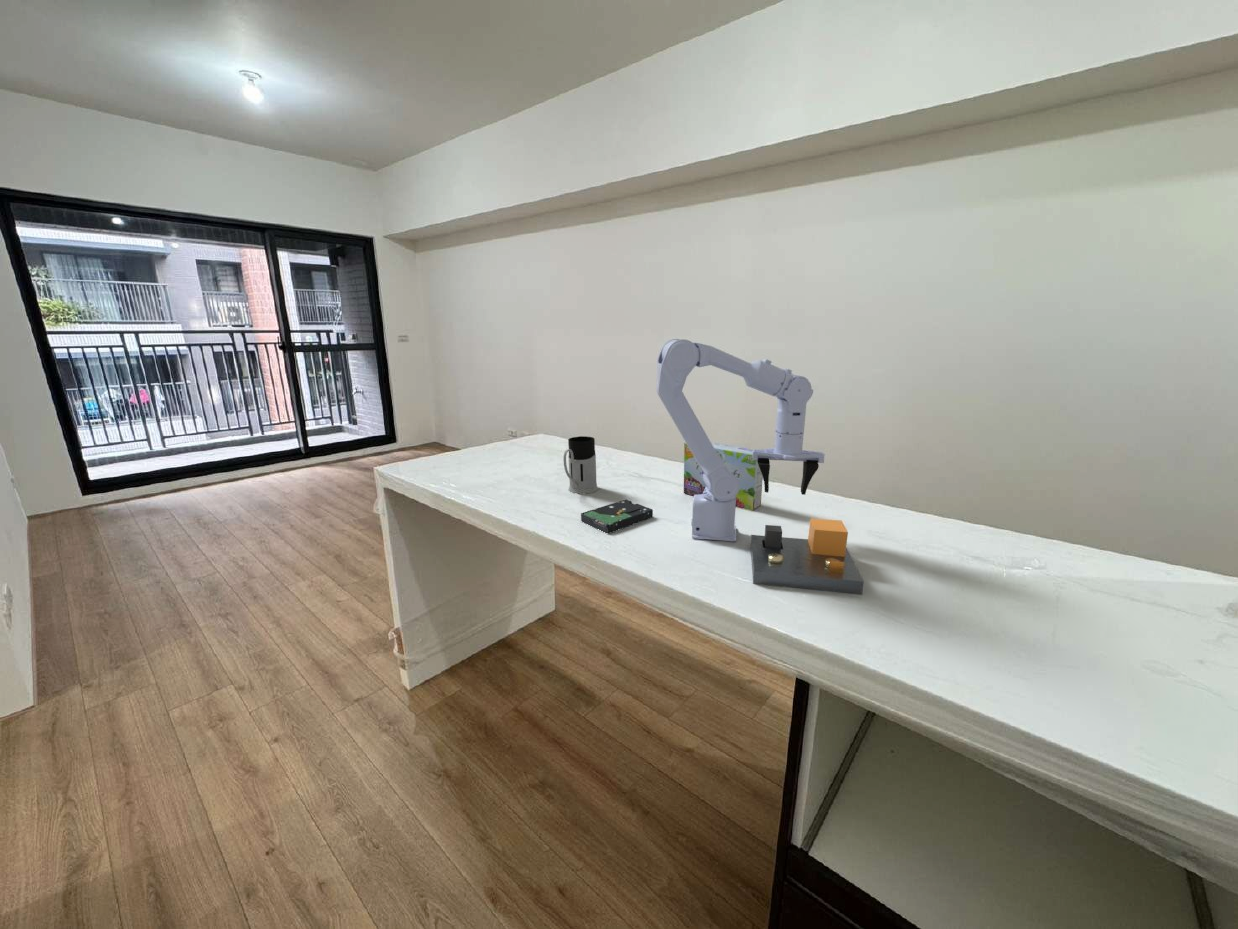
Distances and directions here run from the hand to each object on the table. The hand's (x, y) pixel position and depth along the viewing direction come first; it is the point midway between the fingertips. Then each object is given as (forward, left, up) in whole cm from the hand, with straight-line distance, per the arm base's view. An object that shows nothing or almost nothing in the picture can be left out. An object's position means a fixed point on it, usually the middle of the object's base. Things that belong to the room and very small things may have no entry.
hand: (784, 492), depth 104 cm
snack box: (-14, +19, -10) cm, 26 cm away
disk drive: (-38, 0, -10) cm, 40 cm away
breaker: (-3, -13, -7) cm, 15 cm away
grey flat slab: (+2, -17, -9) cm, 20 cm away
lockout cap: (+7, -13, -7) cm, 16 cm away
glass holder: (-54, +18, -10) cm, 58 cm away
